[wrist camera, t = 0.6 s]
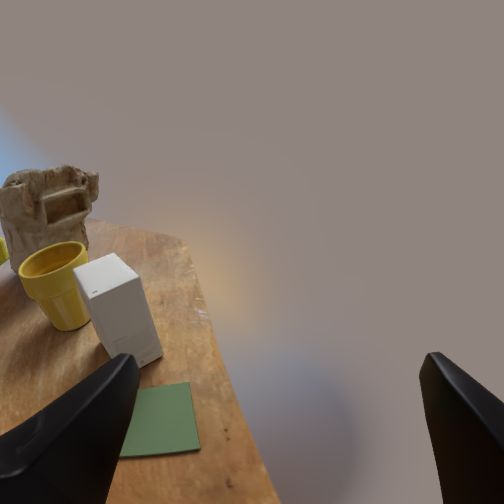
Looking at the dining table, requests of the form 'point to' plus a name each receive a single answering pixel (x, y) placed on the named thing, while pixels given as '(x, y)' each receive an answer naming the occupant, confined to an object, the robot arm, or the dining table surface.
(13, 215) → the ceramic vessel
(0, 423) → the dining table surface
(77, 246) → the flower pot
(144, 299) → the small box
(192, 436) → the mat
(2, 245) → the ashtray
